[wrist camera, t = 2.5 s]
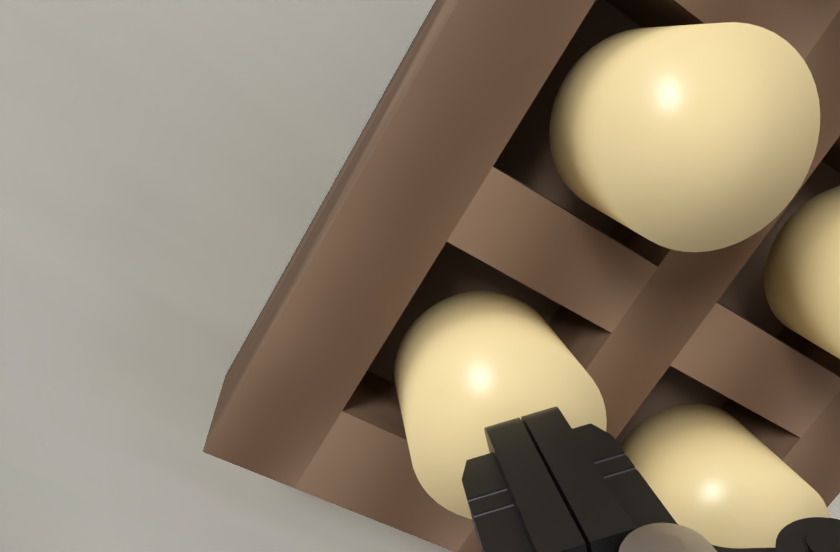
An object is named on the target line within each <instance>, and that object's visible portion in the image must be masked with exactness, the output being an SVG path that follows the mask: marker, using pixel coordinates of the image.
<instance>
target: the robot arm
mask: <svg viewBox="0 0 840 552" xmlns="http://www.w3.org/2000/svg"><path fill="white" fill-rule="evenodd" d="M484 431H485V436H486V440H487V444H488V448H489V452H490V453H489V454H486V455H482V456H479V457H476V458H472V459H469V460H467V461H466V465H465V469H464V472H463V476H462V483H463V487H464V491H465V494H466V498H467V502H468V505H469V509H470V513H471V516H472V520H473V524H474V527H475V531H476V534H477V538H478V542H479V545H480V548H481V551H482V552H840V520H838V519H833V518H826V517H811V518H804V519H799V520H797V521H794V522H792V523H790V524H788V525H786V526H785V527H784V528H783V529H782V530H781V531H780V532H779V534H778V536H777V539H776V545H775V548H726V547H719V546H715V545H711V544H710V543H709V542H708V541H707V540H706V539H705V538H704V537H703V536H702V535H700V534H699V533H697V532H696V531H694V530H692V529H690V528H688V527H685V526H682V525H678V524H677V523H676V521H675V520H674V519H673V517H672V516H671V515H670V513H669V512H668V510H667V509H666V508H665V506H664V505H663V504H662V502H661V501H660V500H659V498H658V497H657V496H656V494H655V493H654V491H653V490H652V489H651V487H650V486H649V485H648V483H647V482H646V481H645V479H644V478H643V477H642V475H641V474H640V473H639V471H638V470H636V469H635V466H634V464H633V463H632V462H631V460H630V459H629V458H628V456H626V455H625V453H624V451H623V450H622V448H621V447H620V445H619V444H618V443H617V441H616V440H615V439H614V437H613V436H612V435H611V434H609V433H607V432H605V431H604V430H602V429H600V428H598V427H597V426H595V425H593V424H591V423H590V424H587V425H583V426H580V427H576V428H573V429H572V428H571V426H570V425H569V423H568V422H567V420H566V419H565V417H564V416H563V414H562V413H561V411H560V409H559V408H558V407H557V406H556V407H552V408H549V409H545V410H542V411H539V412H535V413H532V414H528V415H525V416H522V417H521V419H520V418H515V419H512V420H508V421H505V422H502V423H498V424H495V425H491V426H488V427H485V428H484Z"/></svg>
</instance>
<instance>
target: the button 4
mask: <svg viewBox="0 0 840 552" xmlns="http://www.w3.org/2000/svg"><path fill="white" fill-rule="evenodd" d="M764 287H765V294H766V298H767V301H768V304H769V306H770V308H771V310H772V312H773V313H774V315H775V316H776V318H777V319H778V320H779V321H780V322H781V323H782V324H783V325H785V326H786V327H787V328H789V329H791V330H792V331H794V332H796V333H797V334H799V335H801V336H802V337H804V338H806V339H807V340H809V341H811V342H812V343H814V344H815V345H817V346H819V347H820V348H822V349H824V350H825V351H827V352H829V353H830V354H832V355H834V356H835V357H837V358H839V359H840V186H837V187H834V188H831V189H829V190H826V191H824V192H822V193H820V194H818V195H817V196H815V197H813V198H812V199H810V200H809V201H807V202H806V203H805V204H804V205H802V206H801V207H800V208H799V209H798V210H797V211H796V212H795V213H794V214H793V215H792V216H791V217H790V218H789V219H788V221H787V222H786V223H785V224H784V225H783V227H782V228H781V230H780V231H779V233H778V235H777V236H776V238H775V240H774V242H773V244H772V247H771V249H770V252H769V254H768V258H767V262H766V266H765V273H764Z"/></svg>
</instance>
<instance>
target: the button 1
mask: <svg viewBox="0 0 840 552" xmlns="http://www.w3.org/2000/svg"><path fill="white" fill-rule="evenodd" d="M394 379H395V386H396V390H397V395H398V400H399V404H400V409H401V414H402V418H403V423H404V428H405V432H406V437H407V442H408V447H409V451H410V456H411V461H412V465H413V469H414V471H415V474H416V476H417V478H418V480H419V482H420V484H421V485H422V487H423V488H424V489H425V491H426V492H427V493H428V494H429V496H430V497H432V498H433V499H434V500H435V501H436V502H437V503H438V504H440V505H441V506H443V507H444V508H446V509H447V510H449V511H451V512H453V513H455V514H457V515H460V516H463V517H466V518H469V519H472V516H471V513H470V509H469V505H468V502H467V498H466V494H465V491H464V487H463V483H462V476H463V472H464V469H465V465H466V461H467V460H469V459H472V458H476V457H479V456H482V455H486V454H489V453H490V452H489V448H488V444H487V440H486V436H485V431H484V428H485V427H488V426H491V425H495V424H498V423H502V422H505V421H508V420H512V419H515V418H520V419H521V417H522V416H525V415H528V414H532V413H535V412H539V411H542V410H545V409H549V408H552V407H556V406H557V407H558V408H559V409H560V411H561V413H562V414H563V416H564V417H565V419H566V420H567V422H568V423H569V425H570V426H571V428H572V429H573V428H576V427H580V426H583V425H587V424H590V423H591V424H593V425H595V426H597V427H598V428H600V429H602V430H604V431H605V432H606V425H607V418H606V409H605V405H604V401H603V398H602V395H601V393H600V391H599V389H598V387H597V385H596V384H595V382H594V380H593V379H592V378H591V377H590V375H589V374H588V373H587V372H586V370H585V369H584V368H583V367H582V365H581V364H580V363H579V362H578V361H577V359H576V358H575V357H574V356H573V354H572V353H571V352H570V351H569V350H568V348H567V347H566V346H565V345H564V343H563V342H562V341H561V340H560V338H559V337H558V336H557V335H556V334H555V332H554V331H553V330H552V329H551V327H550V326H549V325H548V324H547V323H546V321H545V320H544V319H543V318H542V317H541V315H540V314H539V313H538V312H537V311H536V310H535V309H534V308H532V307H531V306H530V305H529V304H527V303H526V302H524V301H522V300H521V299H518V298H516V297H514V296H512V295H509V294H505V293H502V292H496V291H481V290H480V291H470V292H465V293H460V294H457V295H454V296H451V297H448V298H446V299H444V300H442V301H440V302H438V303H436V304H435V305H433V306H432V307H430V308H429V309H427V310H426V311H425V312H424V313H423V314H421V315H420V316H419V317H418V318H417V319H416V320H415V322H414V323H413V324H412V325H411V326H410V328H409V329H408V331H407V332H406V333H405V335H404V337H403V339H402V341H401V343H400V346H399V348H398V351H397V355H396V359H395V366H394Z"/></svg>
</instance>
